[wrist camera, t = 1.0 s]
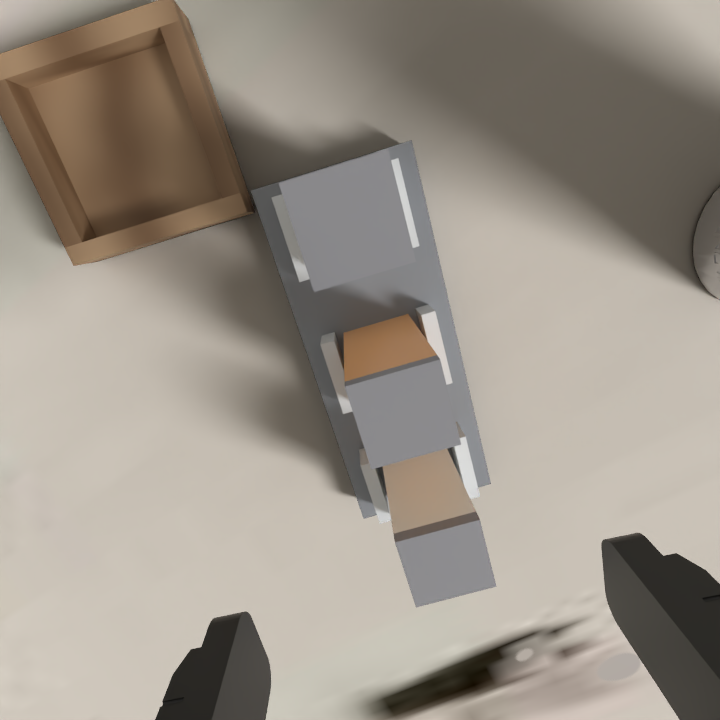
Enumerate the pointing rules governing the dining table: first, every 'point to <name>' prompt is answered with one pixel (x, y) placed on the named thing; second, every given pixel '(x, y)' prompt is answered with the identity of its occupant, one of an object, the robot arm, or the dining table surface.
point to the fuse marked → (397, 392)
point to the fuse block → (369, 306)
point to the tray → (122, 132)
